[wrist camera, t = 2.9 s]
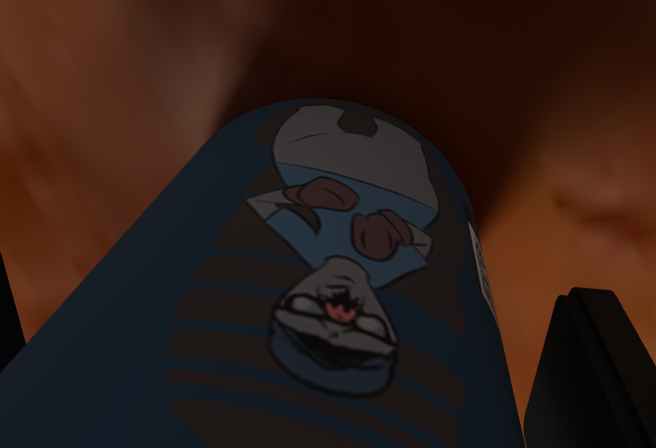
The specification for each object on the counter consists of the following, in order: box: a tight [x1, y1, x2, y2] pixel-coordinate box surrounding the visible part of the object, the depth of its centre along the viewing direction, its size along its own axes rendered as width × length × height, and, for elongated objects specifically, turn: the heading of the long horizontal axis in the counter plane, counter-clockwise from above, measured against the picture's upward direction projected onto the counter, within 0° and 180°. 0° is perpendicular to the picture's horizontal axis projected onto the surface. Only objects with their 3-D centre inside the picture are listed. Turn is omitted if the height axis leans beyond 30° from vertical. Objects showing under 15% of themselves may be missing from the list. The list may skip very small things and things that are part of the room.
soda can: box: [0, 98, 526, 448], centre depth 9 cm, size 7×7×12 cm
